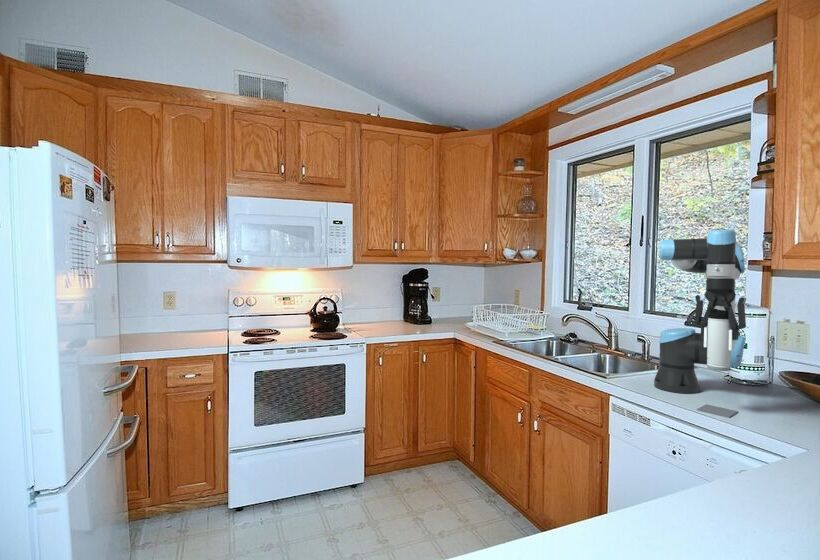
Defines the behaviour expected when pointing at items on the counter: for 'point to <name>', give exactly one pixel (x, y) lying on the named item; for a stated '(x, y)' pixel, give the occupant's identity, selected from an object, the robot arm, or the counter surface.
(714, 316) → the travel mug
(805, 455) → the counter surface
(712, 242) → the robot arm
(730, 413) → the rubber mat
